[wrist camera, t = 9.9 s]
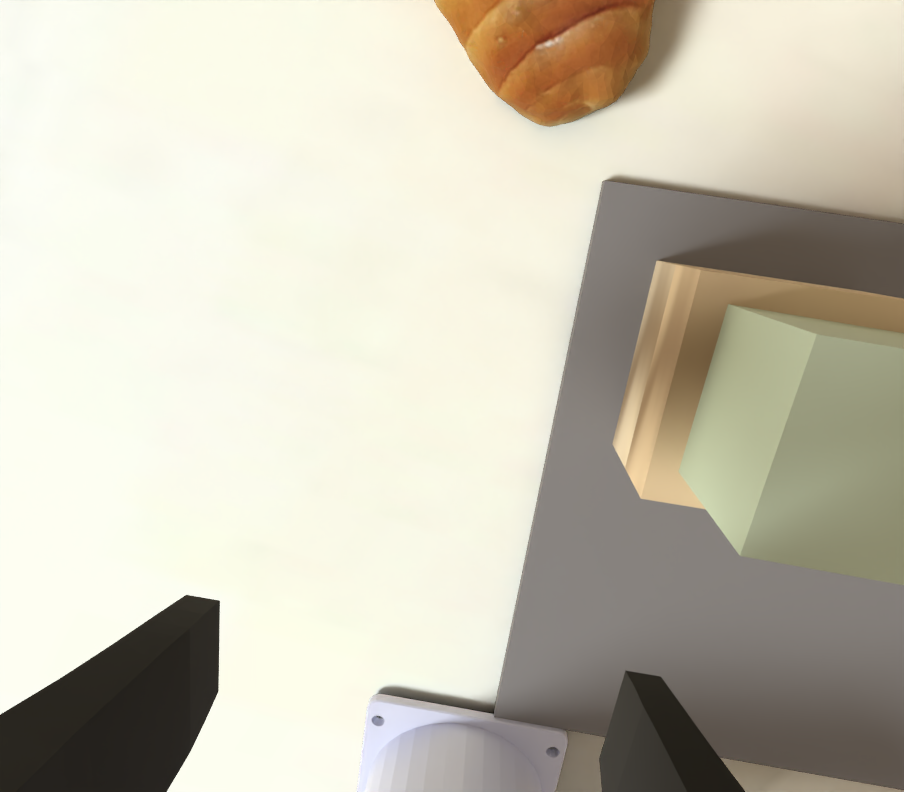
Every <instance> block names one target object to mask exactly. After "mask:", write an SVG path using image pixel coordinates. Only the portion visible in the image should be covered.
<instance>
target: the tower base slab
mask: <svg viewBox="0 0 904 792" xmlns="http://www.w3.org/2000/svg"><path fill="white" fill-rule="evenodd" d="M676 265H682V266H688V267H695V268H702V269H708V270H715V271H722V272H728V273H735V274H742V275H749V276H755V277H762V278H769V279H775V280H782V281H789V282H795V283H802V284H809V285H815V286H822V287H829V288H836V289H842V290H849V291H856V292H862V293H869V292H864V291H858V290H851V289H845V288H838V287H831V286H824V285H818V284H811V283H804V282H798V281H791V280H784V279H778V278H771V277H764V276H758V275H751V274H744V273H737V272H731V271H724V270H717V269H711V268H704V267H697V266H691V265H684V264H677V263H670V262H664V261H656V265H655V269H654V273H653V277H652V281H651V285H650V290H649V294H648V298H647V302H646V306H645V310H644V315H643V319H642V323H641V327H640V331H639V335H638V340H637V344H636V348H635V352H634V356H633V360H632V365H631V369H630V373H629V377H628V381H627V385H626V389H625V394H624V398H623V402H622V406H621V410H620V414H619V419H618V423H617V427H616V431H615V435H614V439H613V446H614V448H615V450H616V452H617V454H618V456H619V458H620V460H621V462H622V464H623V465H624V467H625V466H626V462H627V458H628V454H629V450H630V446H631V442H632V438H633V434H634V430H635V426H636V422H637V418H638V414H639V410H640V406H641V402H642V398H643V394H644V390H645V386H646V382H647V379H648V375H649V371H650V367H651V363H652V359H653V355H654V351H655V347H656V343H657V339H658V335H659V331H660V327H661V323H662V319H663V315H664V311H665V307H666V303H667V299H668V295H669V291H670V287H671V283H672V279H673V275H674V271H675V267H676ZM869 294H875V293H869ZM876 295H880V294H876ZM882 296H886V295H882ZM889 297H891V296H889ZM896 298H897V297H896ZM902 299H903V298H902Z"/></svg>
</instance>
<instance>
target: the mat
mask: <svg viewBox="0 0 904 792" xmlns="http://www.w3.org/2000/svg"><path fill="white" fill-rule="evenodd" d="M656 261H664V262H670V263H677V264H684V265H691V266H697V267H704V268H711V269H717V270H724V271H731V272H737V273H744V274H751V275H758V276H764V277H771V278H778V279H784V280H791V281H798V282H804V283H811V284H818V285H824V286H831V287H838V288H845V289H851V290H858V291H864V292H869V293H875V294H880V295H886V296H891V297H897V298H903V299H904V224H902V223H895V222H888V221H881V220H874V219H867V218H860V217H853V216H846V215H840V214H833V213H826V212H819V211H812V210H805V209H798V208H791V207H784V206H777V205H771V204H764V203H757V202H750V201H743V200H736V199H729V198H722V197H715V196H709V195H702V194H695V193H688V192H681V191H674V190H667V189H660V188H653V187H646V186H640V185H633V184H626V183H619V182H612V181H603V182H602V187H601V192H600V197H599V201H598V206H597V211H596V216H595V221H594V226H593V231H592V235H591V240H590V245H589V250H588V255H587V260H586V265H585V269H584V274H583V279H582V284H581V289H580V294H579V299H578V304H577V308H576V313H575V318H574V323H573V328H572V333H571V338H570V342H569V347H568V352H567V357H566V362H565V367H564V372H563V377H562V381H561V386H560V391H559V396H558V401H557V406H556V411H555V415H554V420H553V425H552V430H551V435H550V440H549V445H548V450H547V454H546V459H545V464H544V469H543V474H542V479H541V484H540V488H539V493H538V498H537V503H536V508H535V513H534V518H533V522H532V527H531V532H530V537H529V542H528V547H527V552H526V557H525V561H524V566H523V571H522V576H521V581H520V586H519V591H518V595H517V600H516V605H515V610H514V615H513V620H512V625H511V630H510V634H509V639H508V644H507V649H506V654H505V659H504V664H503V668H502V673H501V678H500V683H499V688H498V693H497V698H496V702H495V707H494V717H497V718H502V719H508V720H513V721H519V722H525V723H530V724H536V725H541V726H547V727H553V728H558V729H564V730H569V731H575V732H581V733H586V734H592V735H598V736H603V737H606V735H607V731H608V728H609V725H610V721H611V718H612V714H613V711H614V708H615V704H616V701H617V698H618V694H619V691H620V687H621V684H622V681H623V677H624V674H625V670H626V671H632V672H637V673H643V674H649V675H655V676H661V677H662V679H663V680H664V682H665V683H666V684H667V686H668V687H669V688H670V690H671V691H672V693H673V694H674V695H675V697H676V698H677V700H678V701H679V702H680V704H681V705H682V706H683V708H684V709H685V711H686V712H687V713H688V715H689V716H690V718H691V719H692V720H693V722H694V723H695V725H696V726H697V727H698V729H699V730H700V732H701V733H702V734H703V736H704V737H705V738H706V740H707V741H708V743H709V744H710V745H711V747H712V748H713V749H714V751H715V752H716V753H717V755H718V756H719V757H721V758H727V759H732V760H738V761H743V762H749V763H755V764H760V765H766V766H771V767H777V768H783V769H788V770H794V771H799V772H805V773H811V774H816V775H822V776H828V777H833V778H839V779H844V780H850V781H856V782H861V783H867V784H872V785H878V786H884V787H889V788H895V789H900V790H904V585H899V584H894V583H888V582H883V581H877V580H871V579H866V578H860V577H855V576H849V575H843V574H838V573H832V572H827V571H821V570H815V569H810V568H804V567H799V566H793V565H787V564H782V563H776V562H771V561H765V560H760V559H754V558H748V557H743V556H740V555H739V554H738V553H737V551H736V550H735V549H734V547H733V546H732V544H731V543H730V542H729V540H728V539H727V538H726V536H725V535H724V534H723V532H722V531H721V529H720V528H719V527H718V525H717V524H716V523H715V521H714V520H713V518H712V517H711V516H710V514H709V513H708V512H707V510H706V509H701V508H695V507H689V506H683V505H676V504H670V503H664V502H658V501H652V500H646V499H641V498H640V496H639V494H638V492H637V490H636V489H635V487H634V485H633V483H632V481H631V479H630V477H629V475H628V473H627V471H626V469H625V467H624V465H623V464H622V462H621V460H620V458H619V456H618V454H617V452H616V450H615V448H614V446H613V439H614V435H615V431H616V427H617V423H618V419H619V414H620V410H621V406H622V402H623V398H624V394H625V389H626V385H627V381H628V377H629V373H630V369H631V365H632V360H633V356H634V352H635V348H636V344H637V340H638V335H639V331H640V327H641V323H642V319H643V315H644V310H645V306H646V302H647V298H648V294H649V290H650V285H651V281H652V277H653V273H654V269H655V265H656Z"/></svg>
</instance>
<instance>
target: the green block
mask: <svg viewBox="0 0 904 792" xmlns="http://www.w3.org/2000/svg"><path fill="white" fill-rule="evenodd" d="M678 472H679V473H680V475H681V476H682V477H683V479H684V480H685V481H686V483H687V484H688V486H689V487H690V488H691V490H692V491H693V492H694V494H695V495H696V497H697V498H698V499H699V501H700V502H701V503H702V505H703V506H704V507H705V509H706V510H707V512H708V513H709V514H710V516H711V517H712V518H713V520H714V521H715V523H716V524H717V525H718V527H719V528H720V529H721V531H722V532H723V534H724V535H725V536H726V538H727V539H728V540H729V542H730V543H731V544H732V546H733V547H734V549H735V550H736V551H737V553H738V554H739V555H740V556H743V557H748V558H754V559H760V560H765V561H771V562H776V563H782V564H787V565H793V566H799V567H804V568H810V569H815V570H821V571H827V572H832V573H838V574H843V575H849V576H855V577H860V578H866V579H871V580H877V581H883V582H888V583H894V584H899V585H904V333H900V332H893V331H887V330H881V329H875V328H869V327H863V326H857V325H851V324H845V323H839V322H833V321H827V320H821V319H815V318H809V317H803V316H797V315H791V314H785V313H779V312H773V311H767V310H761V309H755V308H749V307H742V306H736V305H730V304H728V306H727V310H726V313H725V316H724V320H723V323H722V326H721V330H720V333H719V337H718V340H717V343H716V347H715V350H714V353H713V357H712V360H711V364H710V367H709V370H708V374H707V377H706V380H705V384H704V387H703V391H702V394H701V397H700V401H699V404H698V407H697V411H696V414H695V417H694V421H693V424H692V428H691V431H690V434H689V438H688V441H687V444H686V448H685V451H684V455H683V458H682V461H681V465H680V468H679V471H678Z"/></svg>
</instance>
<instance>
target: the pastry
mask: <svg viewBox="0 0 904 792" xmlns="http://www.w3.org/2000/svg"><path fill="white" fill-rule="evenodd" d="M434 1H435V3H436V5H437V7H438V8H439V10H440V11H441V13H442V14H443V15H444V16H445V18H446V19H447V20H448V22H449V23H450V25H451V26H452V28H453V30H454V31H455V33H456V35H457V37H458V39H459V41H460V43H461V45H462V46H463V47H464V48H465V50H466V52H467V55H468V57H469V59H470V61H471V62H472V64H473V65H474V66H475V68H476V69H477V70H478V72H479V73H480V75H481V76H482V78H483V79H484V81H485V82H486V84H487V85H488V86H489V88H490V89H491V90H492V91H493V92H494V93H495V94H496V95H497V96H498V97H500V98H501V99H502V100H503V101H505V102H506V103H507V104H509V105H510V106H512V107H513V108H514V109H515V110H516V111H517V112H518V113H520V114H521V115H522V116H524V117H526V118H527V119H529V120H531V121H533V122H535V123H537V124H539V125H543V126H549V127H551V126H557V125H560V124H565V123H569V122H573V121H575V120H578V119H580V118H582V117H584V116H586V115H588V114H590V113H592V112H594V111H596V110H598V109H601V108H604V107H607V106H609V105H610V104H612V103H614V102H615V101H617V99H618V98H619V97H620V96H621V95H622V94H623V93H624V91H625V89H626V88H627V86H628V84H629V82H630V81H631V80H632V78H633V77H634V75H635V73H636V71H637V69H638V68H639V67H640V65H641V64H642V63H643V61H644V59H645V58H646V56H647V54H648V50H649V43H650V32H651V27H652V12H653V7H654V2H655V0H434Z"/></svg>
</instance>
